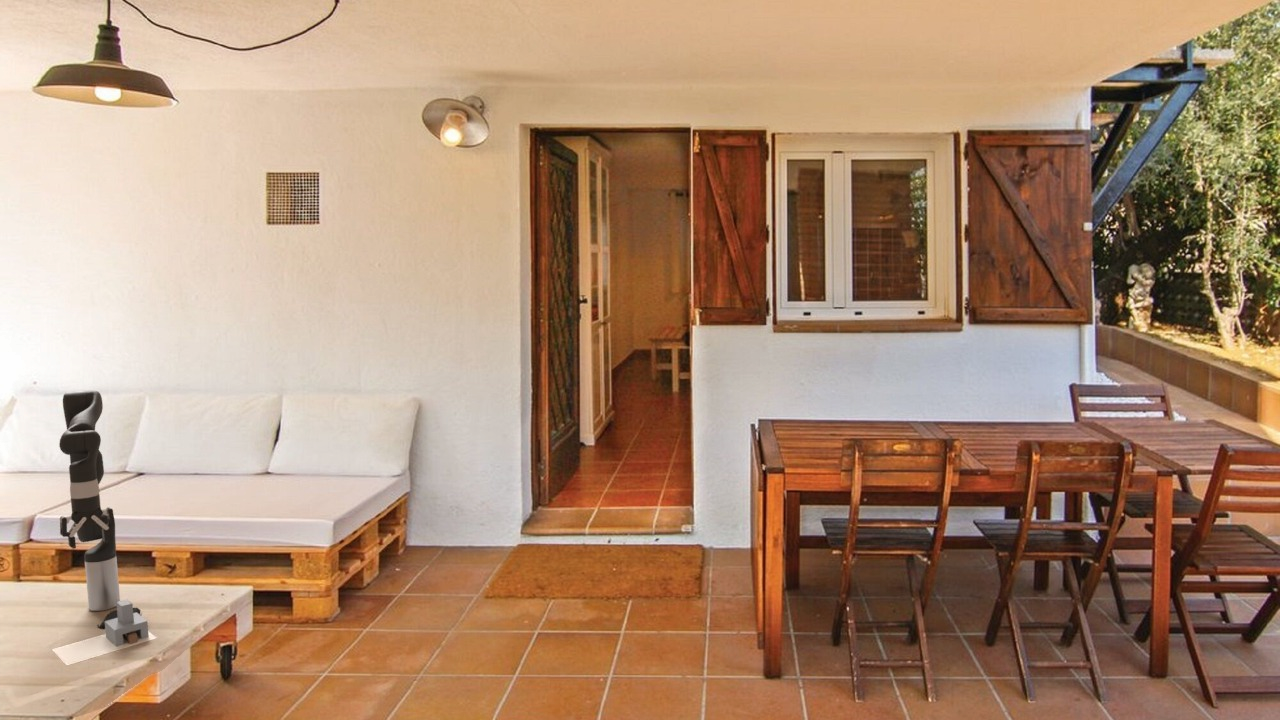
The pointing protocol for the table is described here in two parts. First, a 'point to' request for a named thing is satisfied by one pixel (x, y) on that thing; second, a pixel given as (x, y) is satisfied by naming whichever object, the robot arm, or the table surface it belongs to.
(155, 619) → the table surface
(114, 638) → the block
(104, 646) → the board
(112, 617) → the carrying case or bag
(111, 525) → the robot arm
